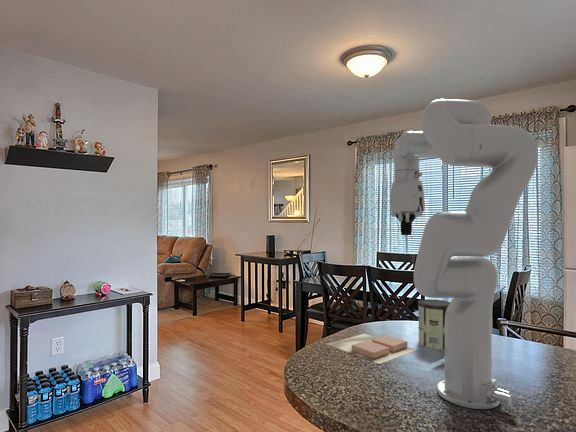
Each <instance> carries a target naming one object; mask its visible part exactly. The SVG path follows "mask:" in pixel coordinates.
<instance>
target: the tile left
mask: <svg viewBox="0 0 576 432" xmlns="http://www.w3.org/2000/svg"><path fill="white" fill-rule="evenodd" d="M352 351H354V352H356V353H359V354H362V355H364V356H367V357H370V358H373V359H375V358H378V357H380V356H383V355H386V354H388V353H389V347H386V346H383V345H380V344H377V343H374V342H371V341H368V340H367V341H363V342H360V343H357V344H353V345H352Z"/></svg>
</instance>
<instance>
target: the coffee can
mask: <svg viewBox="0 0 576 432" xmlns="http://www.w3.org/2000/svg"><path fill="white" fill-rule="evenodd" d="M450 302H451V301H447V300H443V299H434V298H432V299H430V298H429V299H428V298H427V299H420V300H418V301H417V304H418V344H419V345H421V346H423V347H426V348H430V349H436V350H445V314H446V310H447V308H448V306H449V304H450Z"/></svg>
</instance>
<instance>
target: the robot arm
mask: <svg viewBox="0 0 576 432" xmlns="http://www.w3.org/2000/svg"><path fill="white" fill-rule="evenodd" d="M491 122H492V113H491V111H490V108H488V106H487V105H485V104H484V103H482V102H480V101H478V100H473V99H471V100H470V99H469V100H468V99H452V98H451V99H447V98H446V99H445V98H440V99H435V100H432V101H431V102H430V103H428V105H426V106H425V108H424V110H423V112H422V115H421V118H420V128H421V131H413V130H409V131H404V132H403V133H402V134H401V135H400V137H399V138H397V139H396V140H395V141H394V146H393V147H394V149H393V151H394V152H393V153H394V156H393V158H394V160H393V161H394V163H393V164H394V165H393V166H394V167H393V174H394V175H393V178H394V179H393V180H394V181H393V182H392V184H391V189H390V197H389V198H390V199H389V209H390V216H391V217H394V218H396V219H398V222H399V223H400V235H401V236H411V235H412V232H413V229H412V228H413V222H414V220H415V219H416V218H419V217H423V214H424V213H423V212H424V211H425V204H426V201H425V192H424V186H423V182H422V180H420V177H423V172H422V171H420V158H427V159H428V158H429V159H431V158H432V159H435V158H436V159H437V158H438V159H440V160H441V162H442V163H444V164H446V165H449V166H452V167H473V168H481V167H482V168H491V171H489V172H488V173H487V174H485V176H483V177H482V178H481V179H480V180H479V181H478V182H477V184H476V185H475V186H474V188H473V189H472V191H471V193H470V196H469V199H468V200H469V201H468V204H467V206H466V207H465V209H464V210H461V211H457V210H456V211H453V210H452V211H451V210H449V211H448V210H447V211H445V210H444V211H438V212H436V213H435V214H433V215H432V216H430V217H429V219H428V220H427V221H426V224H425V226H424V229H423V232H422V235H421V239H420V245H419V248H418V251H417V255H416V260H415V264H414V269H413V284H414V287H415V289H416V291H417V292H418V293H419V294H420V295H422V296H424V297H426V298H429V299H430V298H432V299H434V298H435V299H448V298H449V299H451V301H449V302H450V304H449V306H448V308H447V310H446V314H445V349H444V380H442V381H439V382H438V384H437V386H436V387H437V389H436V390H437V392H438V395H439V396H440V397H441V398H442V399H444V400H446V401H448V402H449V403H452V404H455V405H457V406H460V407H463V408H468V409H472V410H473V409H476V410H490V409H491V410H492V409H494V408H496V407H498V406H499V405H500V404H501V403H502V404H505V405H506V406H511V405H512V402H513V396H512V395H511V391H509V390H506V389H502V388H500V387H499V386H497V382H498V381H497V379H495V378H493V376H492V374H493V373H492V371H493V370H492V368H493V365H492V364H493V363H492V362H493V359H492V358H493V355H492V353H493V352H492V350H493V343H492V341H493V340H492V338H493V337H492V336H493V335H492V334H493V333H492V332H493V331H492V330H493V306H494V300H495V299H494V298H495V293H496V289H497V286H498V285H497V284H498V272H497V269H496V266H495V264H494V263H493V262H492V261H490V259H488V258H486V257H488V256H492V255H495V254H497V253H498V252H499V251H500V250H501V248H502V246H503V243H504V241H505V238H506V236H507V233H508V230H509V228H510V226H511V222H512V220H513V217H514V215H515V211H516V208H517V206H518V204H519V201H520V199H521V196H522V195H523V193H524V191H525V189H526V188H527V186H528V185H529V183H530V182H531V181H530V180H532V178H533V175H534V173H535V170H536V168H537V165H538V160H539V159H538V158H539V149H538V144H537V142H536V138H535V137H534V136H533V135H532V133H530V132H529V131H528V130H526V129H525V128H521V127H518V126H513V125H507V124H491Z"/></svg>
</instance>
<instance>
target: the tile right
mask: <svg viewBox="0 0 576 432" xmlns="http://www.w3.org/2000/svg"><path fill="white" fill-rule="evenodd" d="M376 337H377V336H376ZM371 342H374V343H377V344H380V345H383V346H386V347H389V351H392V352H395V351H398V350H401V349H404V348H406V347H408V341H407V340H404V339H400V338H398V337H393V336H390V335H386V334H384V335H381V336H378V337H377V338H374V339H371Z"/></svg>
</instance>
